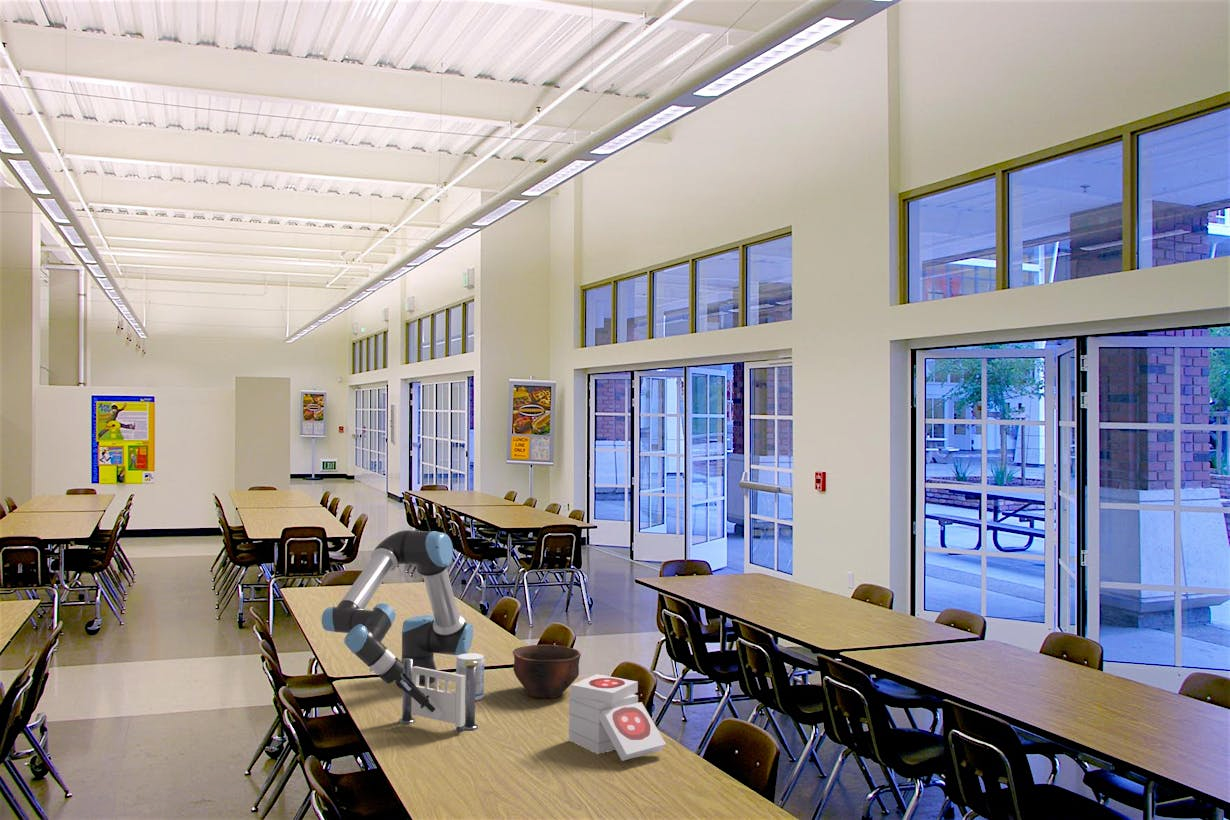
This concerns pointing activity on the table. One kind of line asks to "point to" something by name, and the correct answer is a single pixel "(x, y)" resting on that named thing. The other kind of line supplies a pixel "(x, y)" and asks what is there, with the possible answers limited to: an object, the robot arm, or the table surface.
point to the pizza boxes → (611, 718)
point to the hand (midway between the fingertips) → (440, 716)
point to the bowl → (546, 669)
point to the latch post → (470, 695)
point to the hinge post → (406, 697)
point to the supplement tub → (479, 672)
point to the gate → (441, 696)
